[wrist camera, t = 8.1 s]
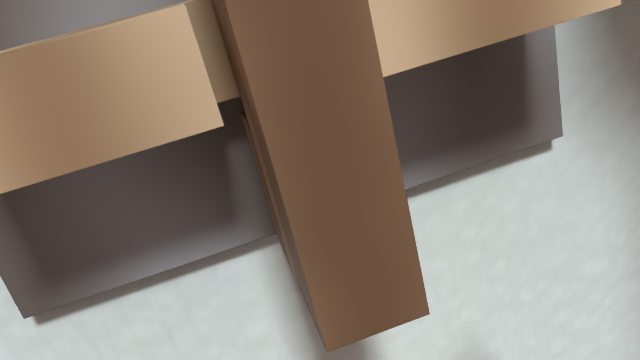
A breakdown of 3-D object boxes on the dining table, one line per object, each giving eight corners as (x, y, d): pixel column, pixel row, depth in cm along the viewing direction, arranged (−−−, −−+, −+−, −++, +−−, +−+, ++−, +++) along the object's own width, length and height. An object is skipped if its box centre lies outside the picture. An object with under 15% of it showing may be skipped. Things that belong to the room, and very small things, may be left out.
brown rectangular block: (242, -228, 13) (292, -384, 8) (349, 212, 18) (429, 313, 12) (143, -208, 13) (121, -356, 7) (278, 237, 17) (327, 352, 12)
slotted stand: (516, -284, 15) (653, -394, 11) (551, 132, 19) (658, 171, 15) (-208, -132, 12) (-411, -198, 8) (28, 307, 17) (-21, 415, 12)
